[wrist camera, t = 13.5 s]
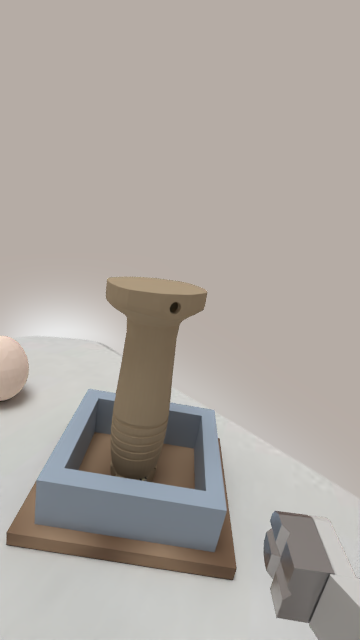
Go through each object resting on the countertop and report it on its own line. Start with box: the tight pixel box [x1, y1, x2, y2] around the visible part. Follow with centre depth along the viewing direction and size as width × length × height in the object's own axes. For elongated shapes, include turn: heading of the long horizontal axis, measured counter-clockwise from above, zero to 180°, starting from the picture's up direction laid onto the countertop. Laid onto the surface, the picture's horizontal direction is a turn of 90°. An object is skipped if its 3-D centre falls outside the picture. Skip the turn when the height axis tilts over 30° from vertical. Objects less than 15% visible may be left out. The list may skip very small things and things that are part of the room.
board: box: [7, 432, 236, 580], centre depth 25 cm, size 14×12×1 cm
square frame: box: [34, 389, 227, 552], centre depth 25 cm, size 11×10×4 cm
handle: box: [106, 277, 207, 482], centre depth 23 cm, size 5×6×15 cm
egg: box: [0, 336, 29, 401], centre depth 32 cm, size 5×5×7 cm
